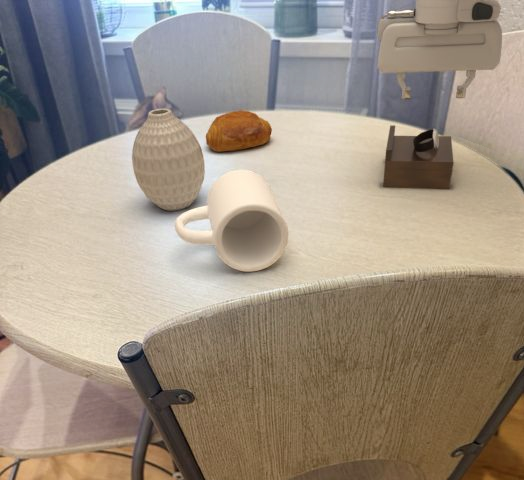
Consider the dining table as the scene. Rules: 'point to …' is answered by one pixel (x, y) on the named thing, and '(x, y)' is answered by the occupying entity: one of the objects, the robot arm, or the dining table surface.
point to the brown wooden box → (417, 163)
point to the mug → (239, 222)
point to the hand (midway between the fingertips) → (432, 98)
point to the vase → (168, 161)
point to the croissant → (237, 131)
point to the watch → (428, 145)
